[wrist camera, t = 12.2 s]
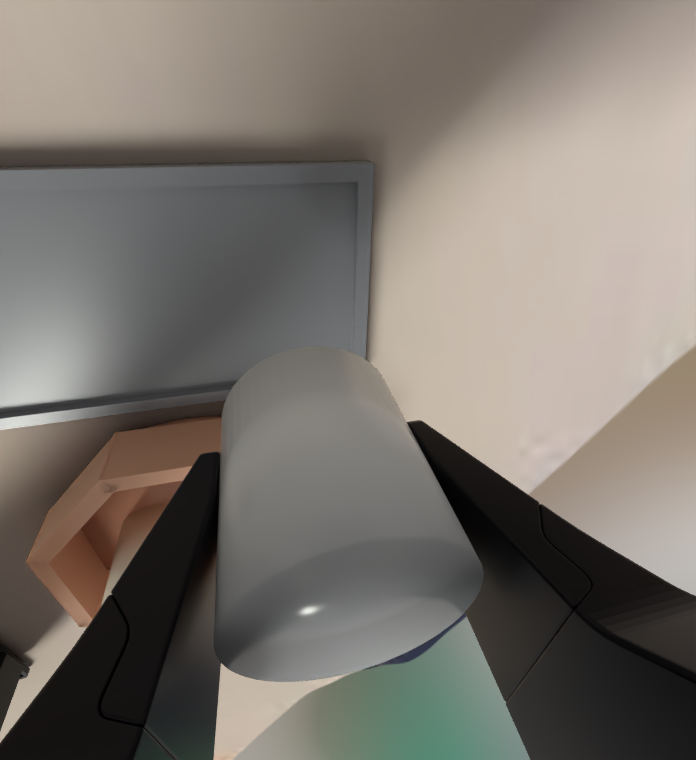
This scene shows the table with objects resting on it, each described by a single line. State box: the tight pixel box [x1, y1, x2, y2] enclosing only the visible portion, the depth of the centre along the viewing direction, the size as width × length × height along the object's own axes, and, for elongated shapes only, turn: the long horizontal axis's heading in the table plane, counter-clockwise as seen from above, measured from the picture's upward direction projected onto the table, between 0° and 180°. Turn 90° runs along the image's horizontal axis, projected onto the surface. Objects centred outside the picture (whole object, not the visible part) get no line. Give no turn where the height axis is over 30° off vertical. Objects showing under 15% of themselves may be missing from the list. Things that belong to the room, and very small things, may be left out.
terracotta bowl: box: [26, 416, 222, 627], centre depth 23 cm, size 16×16×4 cm
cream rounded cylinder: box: [101, 504, 167, 606], centre depth 22 cm, size 4×4×5 cm
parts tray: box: [0, 161, 375, 430], centre depth 16 cm, size 18×10×1 cm, turn 89°
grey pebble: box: [214, 346, 484, 682], centre depth 8 cm, size 4×4×5 cm
